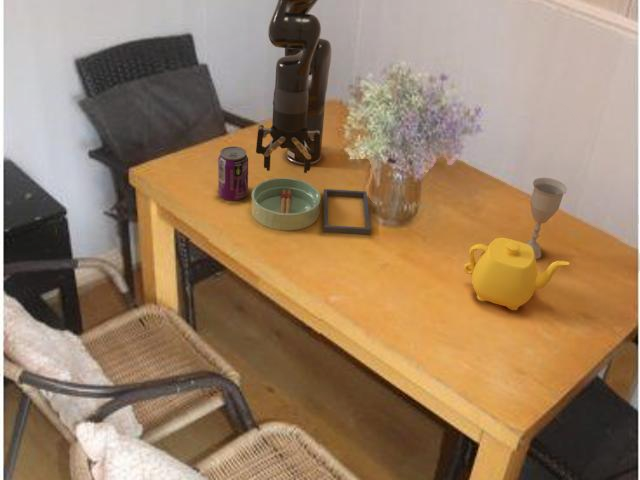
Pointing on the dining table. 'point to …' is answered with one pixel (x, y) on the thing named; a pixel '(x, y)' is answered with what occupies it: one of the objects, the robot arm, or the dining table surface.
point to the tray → (345, 228)
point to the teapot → (507, 272)
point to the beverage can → (233, 173)
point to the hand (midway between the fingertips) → (286, 170)
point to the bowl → (269, 204)
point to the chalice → (544, 206)
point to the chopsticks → (285, 201)
